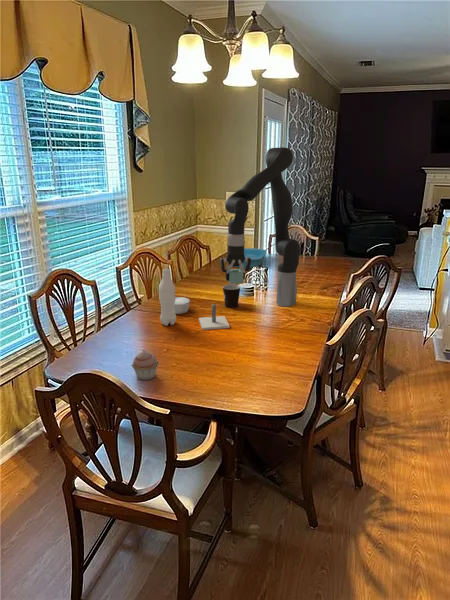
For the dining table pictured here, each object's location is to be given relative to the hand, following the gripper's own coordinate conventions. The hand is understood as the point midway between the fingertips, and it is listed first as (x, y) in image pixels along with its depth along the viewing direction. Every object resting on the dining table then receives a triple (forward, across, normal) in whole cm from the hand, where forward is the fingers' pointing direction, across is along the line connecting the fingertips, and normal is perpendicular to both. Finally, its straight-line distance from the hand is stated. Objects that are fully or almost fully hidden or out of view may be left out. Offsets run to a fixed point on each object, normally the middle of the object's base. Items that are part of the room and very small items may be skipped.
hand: (235, 280), depth 201 cm
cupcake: (+19, +41, +48) cm, 67 cm away
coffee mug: (+18, -2, -18) cm, 25 cm away
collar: (+1, 0, 0) cm, 1 cm away
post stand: (+18, +10, +5) cm, 22 cm away
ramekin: (+19, +24, -15) cm, 34 cm away
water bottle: (+19, +30, +2) cm, 36 cm away
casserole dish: (+18, -30, -99) cm, 105 cm away
